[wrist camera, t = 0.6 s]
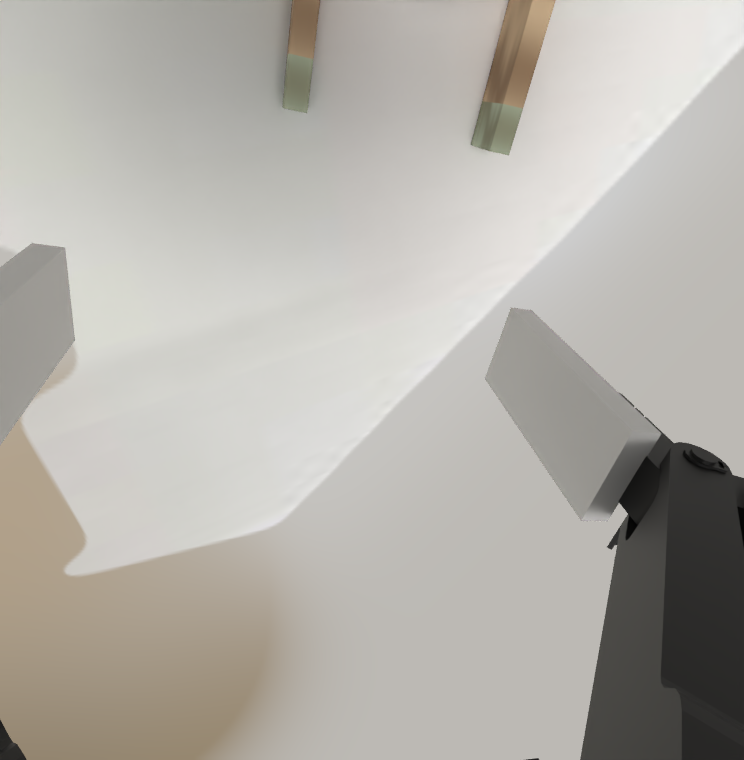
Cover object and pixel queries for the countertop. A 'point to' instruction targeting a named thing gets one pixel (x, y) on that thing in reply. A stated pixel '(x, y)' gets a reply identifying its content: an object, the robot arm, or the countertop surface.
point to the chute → (504, 84)
